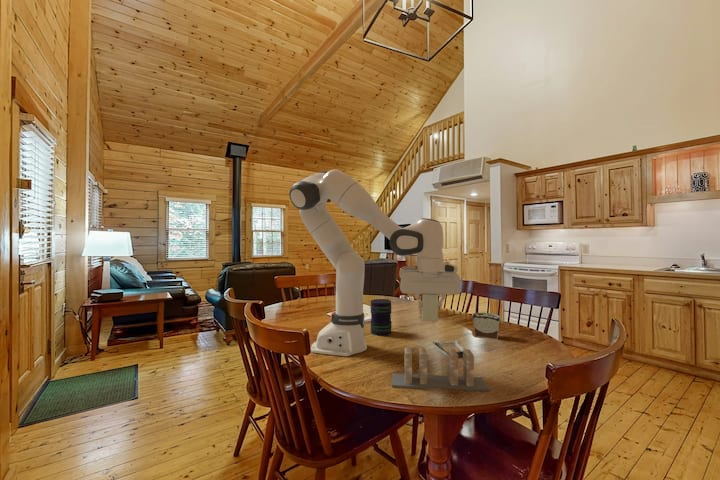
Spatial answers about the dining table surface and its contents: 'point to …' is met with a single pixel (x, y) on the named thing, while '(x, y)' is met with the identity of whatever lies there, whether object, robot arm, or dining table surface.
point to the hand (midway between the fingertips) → (429, 306)
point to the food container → (486, 325)
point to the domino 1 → (408, 365)
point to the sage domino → (430, 307)
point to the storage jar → (381, 317)
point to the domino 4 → (468, 367)
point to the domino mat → (438, 383)
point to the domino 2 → (423, 366)
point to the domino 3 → (453, 366)
